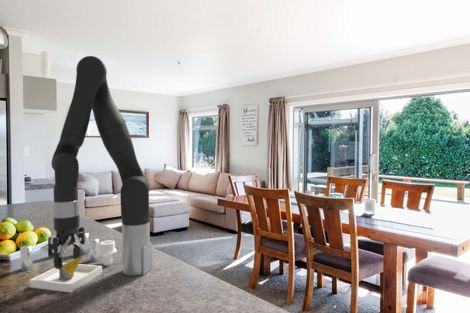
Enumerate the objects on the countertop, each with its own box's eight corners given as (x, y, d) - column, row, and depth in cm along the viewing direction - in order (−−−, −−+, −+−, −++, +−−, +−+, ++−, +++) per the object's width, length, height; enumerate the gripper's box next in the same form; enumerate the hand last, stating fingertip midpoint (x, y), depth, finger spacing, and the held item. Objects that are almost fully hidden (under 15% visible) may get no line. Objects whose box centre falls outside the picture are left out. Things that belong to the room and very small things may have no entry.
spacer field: (110, 253, 134) (110, 234, 134) (71, 275, 112) (71, 252, 111) (64, 249, 139) (64, 231, 138) (18, 270, 116) (17, 248, 116)
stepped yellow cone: (60, 276, 111) (84, 253, 114) (66, 287, 108) (90, 263, 111) (49, 271, 107) (73, 248, 109) (55, 282, 104) (80, 258, 106)
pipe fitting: (94, 264, 122) (93, 243, 122) (111, 259, 128) (111, 238, 128) (103, 268, 118) (103, 246, 118) (121, 262, 124) (120, 241, 124)
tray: (102, 273, 114) (102, 266, 114) (71, 292, 100) (71, 284, 99) (64, 269, 117) (64, 262, 117) (29, 287, 103) (29, 279, 103)
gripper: (60, 220, 99) (62, 272, 100) (90, 210, 113) (92, 256, 114) (39, 219, 101) (41, 271, 102) (71, 209, 115) (72, 255, 116)
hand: (68, 263), depth 108 cm, fingers open, 8 cm apart
